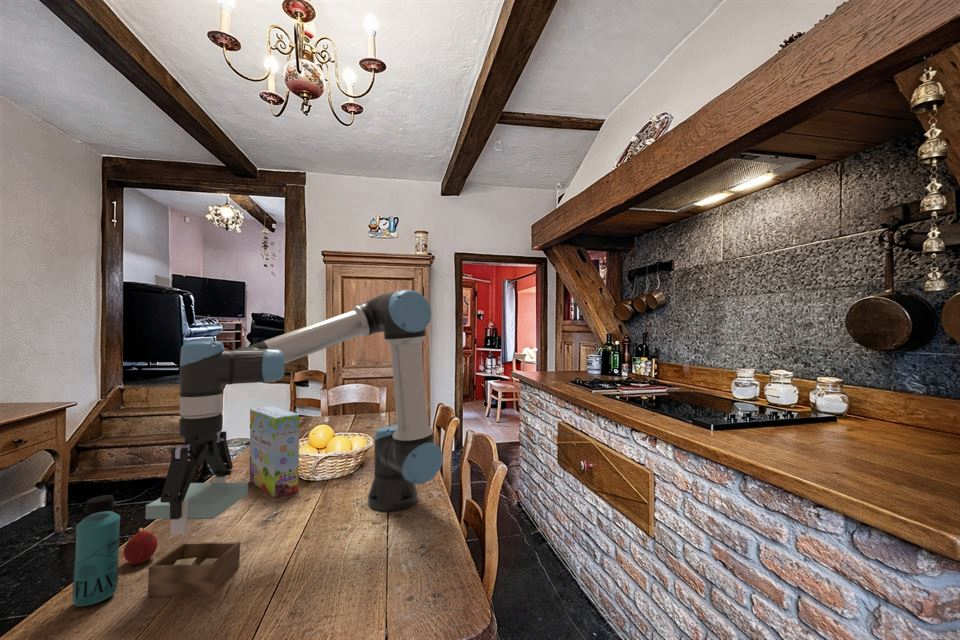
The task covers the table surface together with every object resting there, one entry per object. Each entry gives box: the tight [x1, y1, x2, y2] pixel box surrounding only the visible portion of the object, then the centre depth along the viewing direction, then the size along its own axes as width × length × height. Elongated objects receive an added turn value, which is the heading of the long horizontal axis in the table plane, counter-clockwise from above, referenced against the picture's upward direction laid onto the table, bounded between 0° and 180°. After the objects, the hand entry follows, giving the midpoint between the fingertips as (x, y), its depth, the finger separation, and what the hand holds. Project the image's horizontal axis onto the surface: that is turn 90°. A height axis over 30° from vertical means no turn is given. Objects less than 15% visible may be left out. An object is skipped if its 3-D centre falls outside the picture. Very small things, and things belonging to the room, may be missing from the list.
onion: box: [123, 527, 159, 565], centre depth 90 cm, size 6×6×8 cm
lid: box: [145, 481, 249, 521], centre depth 84 cm, size 13×12×4 cm
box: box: [147, 541, 241, 597], centre depth 84 cm, size 12×9×6 cm
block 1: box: [174, 558, 197, 565], centre depth 83 cm, size 4×4×4 cm
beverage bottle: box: [71, 494, 121, 607], centre depth 77 cm, size 6×7×20 cm
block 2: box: [200, 558, 219, 565], centre depth 84 cm, size 4×4×4 cm
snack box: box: [249, 405, 301, 499], centre depth 137 cm, size 22×9×26 cm, turn 49°
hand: (200, 519), depth 84 cm, fingers closed on lid, 11 cm apart
